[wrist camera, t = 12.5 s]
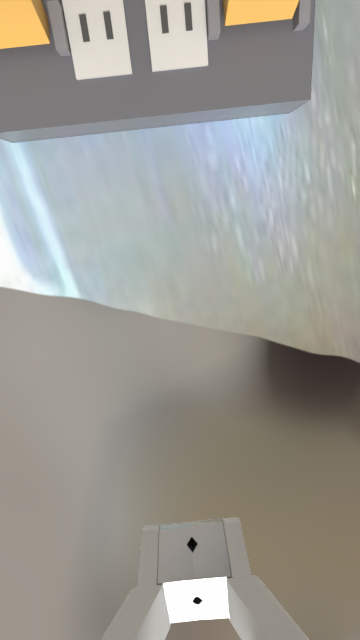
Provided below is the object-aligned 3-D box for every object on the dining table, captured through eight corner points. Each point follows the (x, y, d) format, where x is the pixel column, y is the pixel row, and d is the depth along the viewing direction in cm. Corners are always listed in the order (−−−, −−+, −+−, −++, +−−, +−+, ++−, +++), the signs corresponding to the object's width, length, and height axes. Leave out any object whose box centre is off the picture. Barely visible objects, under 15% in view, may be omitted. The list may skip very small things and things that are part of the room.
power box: (293, -56, 27) (328, -124, 21) (289, 113, 31) (316, 95, 25) (-30, -20, 27) (-84, -78, 21) (12, 142, 31) (-23, 131, 25)
